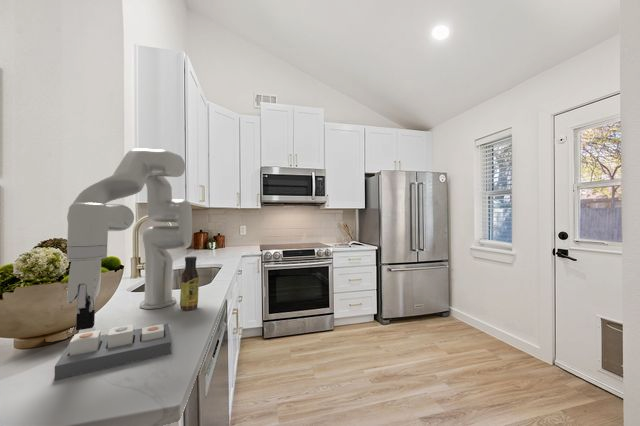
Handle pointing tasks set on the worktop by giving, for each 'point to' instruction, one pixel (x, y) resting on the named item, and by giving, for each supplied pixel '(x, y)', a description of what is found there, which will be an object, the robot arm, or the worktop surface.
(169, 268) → the robot arm
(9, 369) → the worktop surface
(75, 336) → the dot key
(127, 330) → the plain key
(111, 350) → the slotted grey tray
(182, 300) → the sauce bottle
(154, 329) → the dot key
